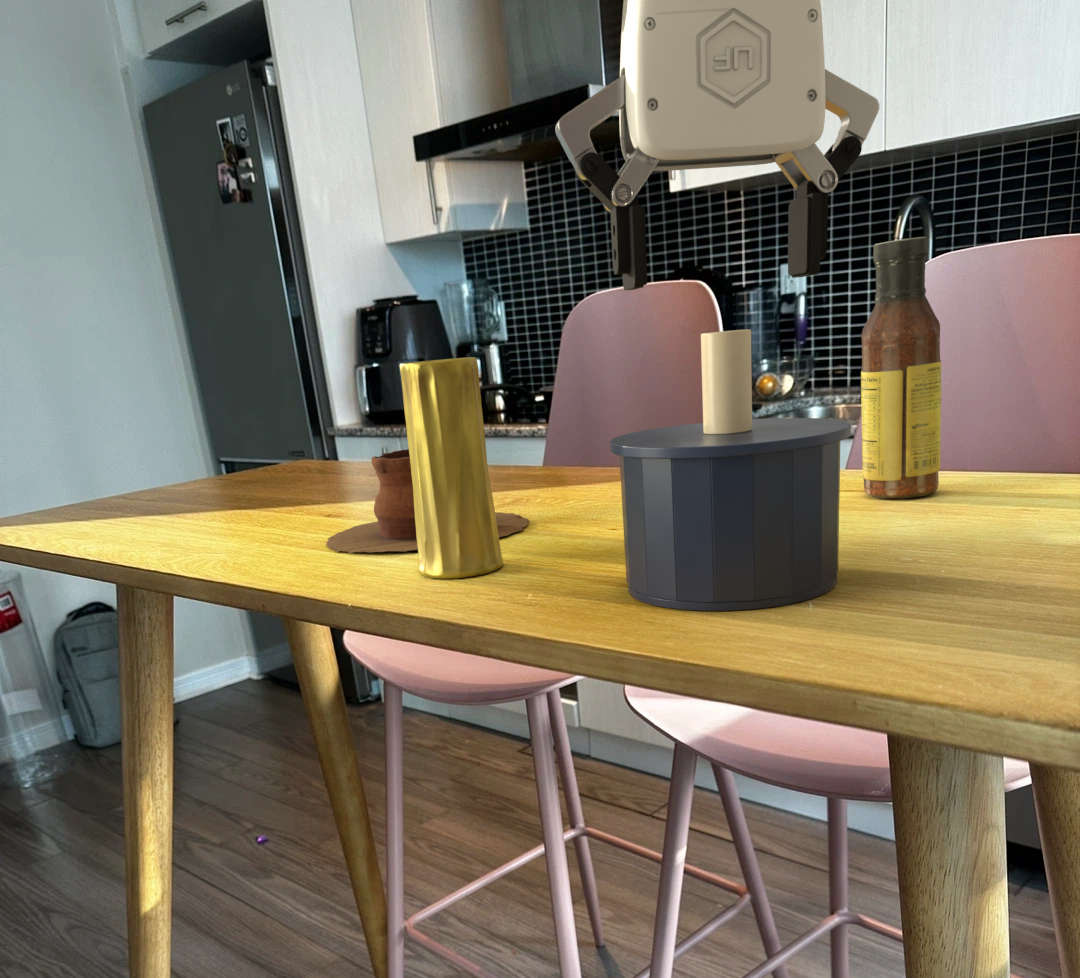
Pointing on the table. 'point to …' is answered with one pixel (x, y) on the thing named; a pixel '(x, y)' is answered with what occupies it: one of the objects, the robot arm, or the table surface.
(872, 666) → the table surface
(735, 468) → the tin
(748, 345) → the tin lid
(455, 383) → the vase
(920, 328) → the sauce bottle
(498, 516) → the ceramic pot
